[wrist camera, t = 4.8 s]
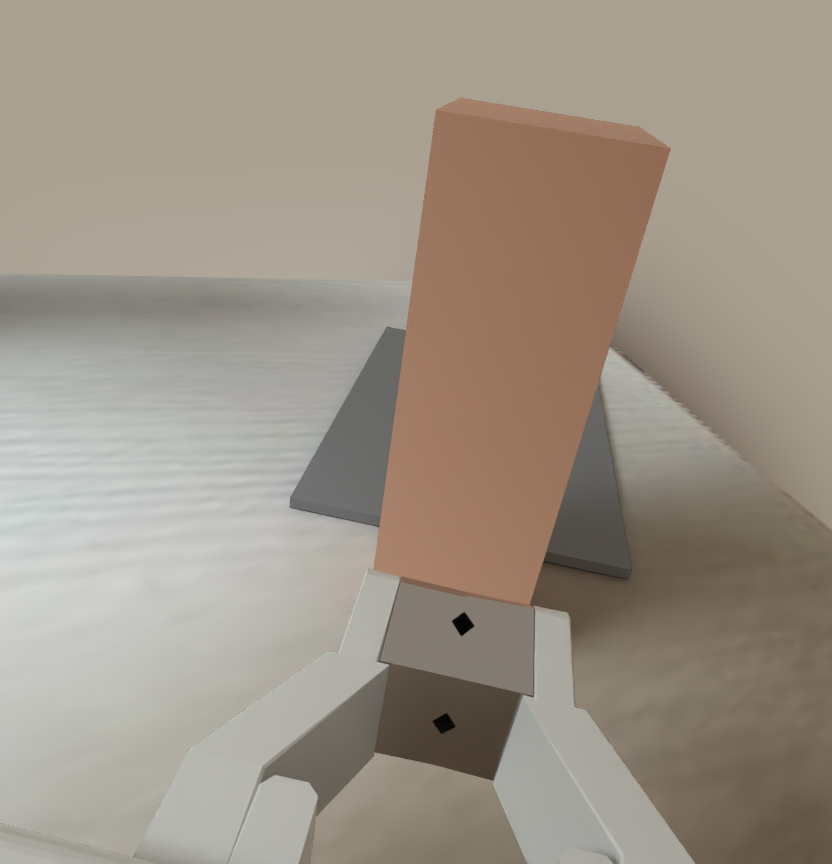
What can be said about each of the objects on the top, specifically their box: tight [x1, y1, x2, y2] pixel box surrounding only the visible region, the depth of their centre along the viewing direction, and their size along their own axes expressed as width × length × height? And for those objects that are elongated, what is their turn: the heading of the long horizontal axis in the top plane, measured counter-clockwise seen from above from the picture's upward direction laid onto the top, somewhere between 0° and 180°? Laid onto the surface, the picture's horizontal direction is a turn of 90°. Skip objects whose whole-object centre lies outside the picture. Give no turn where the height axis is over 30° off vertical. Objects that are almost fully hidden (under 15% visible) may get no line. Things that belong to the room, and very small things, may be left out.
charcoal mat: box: [290, 327, 632, 579], centre depth 35 cm, size 20×14×1 cm
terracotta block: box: [374, 98, 671, 605], centre depth 20 cm, size 5×5×16 cm
